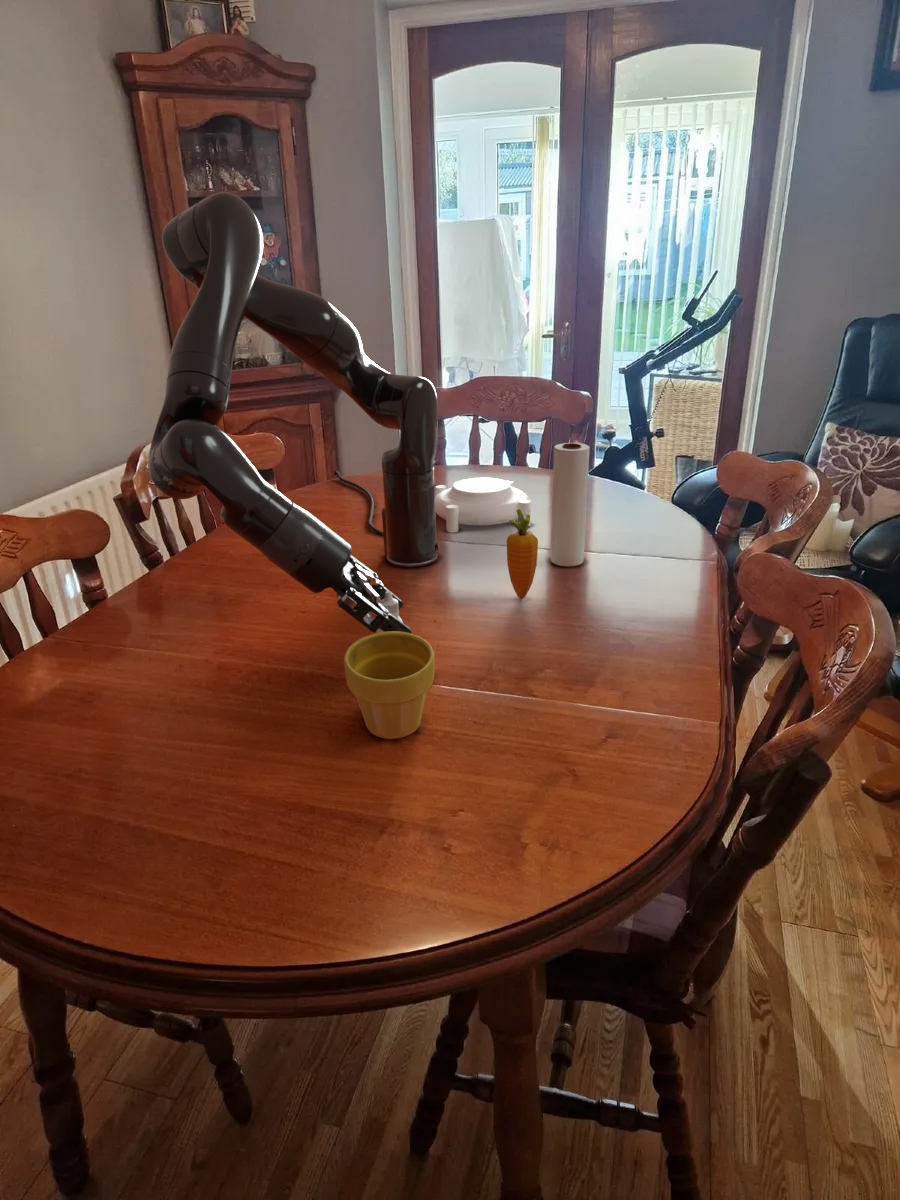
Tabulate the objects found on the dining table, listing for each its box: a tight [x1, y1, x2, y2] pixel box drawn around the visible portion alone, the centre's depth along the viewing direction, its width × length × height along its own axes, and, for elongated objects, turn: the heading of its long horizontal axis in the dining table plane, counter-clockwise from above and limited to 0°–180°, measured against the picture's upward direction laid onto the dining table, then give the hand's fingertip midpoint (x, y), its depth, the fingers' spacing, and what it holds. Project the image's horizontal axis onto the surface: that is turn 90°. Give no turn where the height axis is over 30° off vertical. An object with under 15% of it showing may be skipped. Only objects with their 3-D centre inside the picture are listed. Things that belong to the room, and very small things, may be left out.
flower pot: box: [343, 631, 436, 740], centre depth 88 cm, size 10×10×10 cm
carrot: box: [506, 509, 539, 601], centre depth 120 cm, size 5×5×15 cm
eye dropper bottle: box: [376, 590, 404, 633], centre depth 98 cm, size 4×6×12 cm
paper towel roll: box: [550, 439, 591, 567], centre depth 134 cm, size 7×6×21 cm
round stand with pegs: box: [435, 476, 532, 533], centre depth 162 cm, size 24×24×7 cm
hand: (402, 622), depth 98 cm, fingers open, 8 cm apart
